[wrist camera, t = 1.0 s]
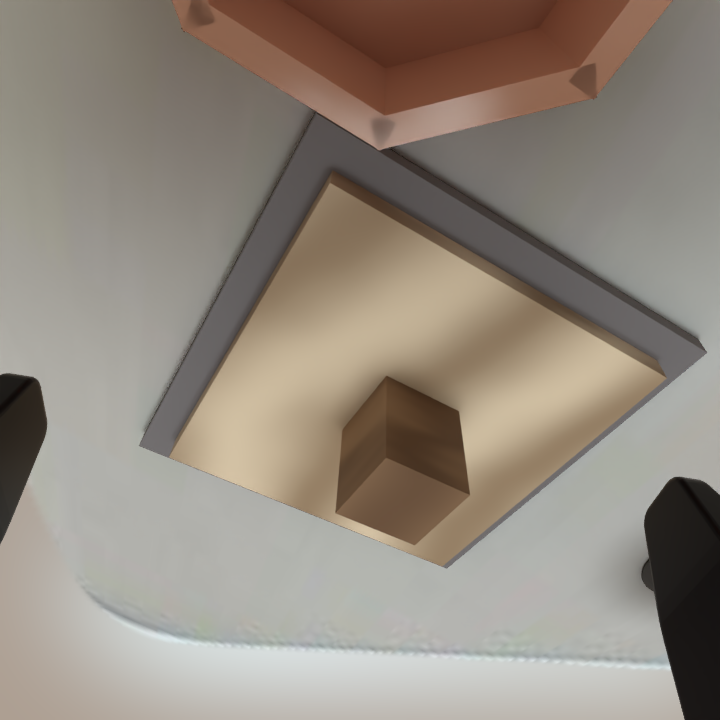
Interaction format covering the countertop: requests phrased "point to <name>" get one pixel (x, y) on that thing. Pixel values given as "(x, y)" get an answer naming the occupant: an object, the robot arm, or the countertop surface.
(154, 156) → the countertop surface
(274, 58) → the bowl
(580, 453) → the mat
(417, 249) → the lid
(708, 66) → the countertop surface
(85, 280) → the countertop surface
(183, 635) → the countertop surface
